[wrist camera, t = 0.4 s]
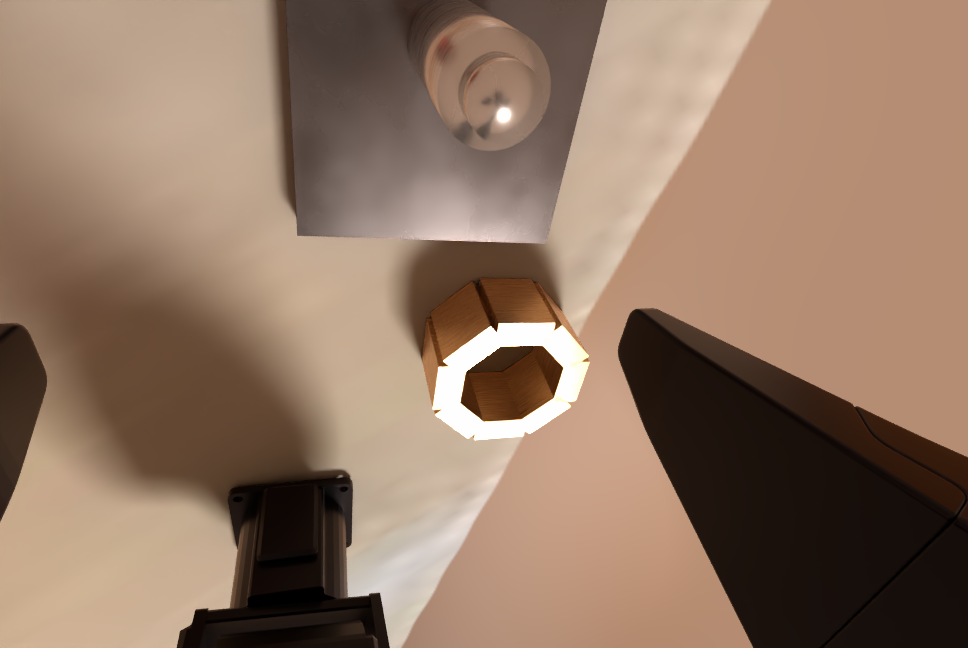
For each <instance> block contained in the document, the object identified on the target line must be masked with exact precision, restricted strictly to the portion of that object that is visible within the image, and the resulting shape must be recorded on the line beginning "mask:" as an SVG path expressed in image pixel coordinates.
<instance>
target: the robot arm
mask: <svg viewBox="0 0 968 648" xmlns="http://www.w3.org/2000/svg"><path fill="white" fill-rule="evenodd" d="M618 357H619V361H620V363H621V366H622V369H623V372H624V374H625V377H626V380H627V382H628V385H629V388H630V391H631V393H632V396H633V399H634V401H635V404H636V407H637V410H638V412H639V415H640V418H641V420H642V422H643V425H644V428H645V430H646V432H647V434H648V436H649V439H650V441H651V443H652V445H653V447H654V449H655V451H656V453H657V455H658V457H659V459H660V461H661V463H662V465H663V467H664V469H665V471H666V473H667V475H668V477H669V479H670V481H671V483H672V485H673V487H674V489H675V491H676V493H677V495H678V497H679V499H680V501H681V503H682V505H683V507H684V509H685V511H686V513H687V515H688V517H689V519H690V521H691V523H692V525H693V527H694V529H695V531H696V533H697V535H698V538H699V539H700V542H701V544H702V546H703V548H704V550H705V552H706V554H707V556H708V558H709V560H710V562H711V564H712V566H713V568H714V570H715V572H716V574H717V576H718V578H719V580H720V582H721V584H722V586H723V588H724V590H725V592H726V594H727V596H728V598H729V600H730V602H731V604H732V606H733V608H734V610H735V612H736V614H737V616H738V618H739V620H740V622H741V624H742V626H743V628H744V630H745V632H746V634H747V636H748V638H749V640H750V642H751V644H752V646H753V648H968V457H966V456H964V455H962V454H959V453H957V452H955V451H953V450H950V449H948V448H946V447H944V446H941V445H939V444H937V443H935V442H932V441H930V440H928V439H926V438H923V437H921V436H919V435H917V434H915V433H913V432H911V431H908V430H906V429H904V428H902V427H900V426H898V425H895V424H894V423H891V422H889V421H887V420H885V419H883V418H881V417H879V416H877V415H875V414H873V413H871V412H868V411H866V410H864V409H862V408H860V407H858V406H856V407H854V406H853V404H851V403H850V402H848V401H846V400H844V399H841V398H839V397H837V396H835V395H833V394H831V393H829V392H827V391H825V390H823V389H821V388H819V387H817V386H815V385H813V384H810V383H808V382H806V381H804V380H802V379H800V378H798V377H796V376H794V375H792V374H790V373H788V372H786V371H784V370H782V369H780V368H778V367H776V366H773V365H771V364H769V363H767V362H765V361H763V360H761V359H759V358H757V357H755V356H752V355H751V354H749V353H747V352H745V351H743V350H740V349H738V348H736V347H734V346H732V345H730V344H728V343H726V342H724V341H722V340H720V339H718V338H716V337H714V336H711V335H710V334H707V333H705V332H703V331H701V330H699V329H697V328H695V327H693V326H691V325H689V324H687V323H685V322H683V321H680V320H678V319H676V318H675V317H672V316H670V315H668V314H666V313H664V312H662V311H660V310H658V309H654V308H645V309H635V310H633V311H632V312H631V313H630V315H629V317H628V320H627V323H626V326H625V328H624V332H623V335H622V337H621V340H620V343H619V346H618ZM46 387H47V375H46V371H45V368H44V366H43V364H42V361H41V359H40V357H39V354H38V352H37V350H36V347H35V345H34V343H33V340H32V338H31V336H30V334H29V332H28V330H27V329H26V328H25V327H24V326H22V325H20V324H17V323H6V324H0V521H1V519H2V517H3V515H4V513H5V510H6V508H7V506H8V504H9V501H10V499H11V497H12V494H13V492H14V489H15V487H16V484H17V481H18V478H19V475H20V473H21V469H22V466H23V463H24V460H25V456H26V453H27V450H28V447H29V443H30V440H31V437H32V434H33V430H34V427H35V424H36V421H37V417H38V414H39V411H40V408H41V404H42V401H43V398H44V395H45V391H46ZM352 499H353V484H352V480H350V479H348V478H337V479H326V480H315V481H304V482H293V483H281V484H270V485H259V486H248V487H237V488H234V489H232V490H230V492H229V496H228V504H229V509H230V514H231V519H232V524H233V529H234V534H235V539H236V544H237V549H238V552H237V559H236V566H235V574H234V581H233V588H232V595H231V603H230V608H229V609H218V610H208V608H206V609H196V610H195V614H194V618H193V622H192V624H191V625H190V626H188V627H187V628H185V629H183V630H181V631H180V634H179V639H178V644H177V648H390V647H389V642H388V636H387V630H386V624H385V619H384V613H383V607H382V602H381V596H380V593H371V594H369V596H359V597H348V589H347V558H346V548H347V547H349V546H350V545H351V543H352Z"/></svg>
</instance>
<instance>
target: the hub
mask: <svg viewBox="0 0 968 648" xmlns="http://www.w3.org/2000/svg"><path fill="white" fill-rule="evenodd" d="M430 313H431V317H432V318H427V320H426V328H425V337H424V346H423V354H422V362H423V366H424V371H425V375H426V380H427V385H428V389H429V394H430V399H431V403H432V408H433V409H434V412H435V415H436V416H438V417H439V418H440V419H442V420H443V421H444V422H446V423H447V424H449V425H450V426H451V427H453V428H454V429H455V430H457V431H458V432H459V433H461V434H462V435H464V436H465V437H466V438H469V437H471V436H472V435H473V438H474V440H480V439H494V438H507V437H520V436H523V434H524V430H526V431H527V432H528V433H529V434H530V433H532V432H533V431H535V430H536V429H538V428H539V427H541V426H542V425H544V424H546V423H547V422H548V421H550V420H552V419H553V418H555V417H556V416H558V415H559V414H561V413H562V412H564V411H565V410H567V409H568V408H570V407H571V405H570V403H569V402H571V401H576V399H577V396H578V393H579V390H580V387H581V385H582V382H583V379H584V376H585V374H586V371H587V368H588V365H589V360H588V358H587V357H588V354H587V352H586V351H585V349H584V347H583V346H582V344H581V342H580V341H579V339H578V337H577V336H576V334H575V332H574V331H573V329H572V327H571V326H570V324H569V322H568V320H567V319H566V317H565V315H564V314H563V312H562V311H561V310H560V308H559V307H558V306H557V305H556V304H555V302H554V301H553V300H552V299H551V298H550V296H549V295H548V294H547V293H546V292H545V290H544V289H543V288H542V287H541V286H540V284H539V283H538V282H536V283H533V282H532V280H531V279H502V278H480V280H479V286H477V285H476V284H475V283H474V282H473V281H471V282H470V283H469V284H467V285H466V286H465V287H463V288H462V289H461V290H459V291H458V292H457V293H455V294H454V295H453V296H451V297H450V298H449V299H447V300H446V301H445V302H443V303H442V304H441V305H440V306H438V307H437V308H436V309H434V310H433V311H432V312H430ZM501 346H533V350H532V352H530V353H529V354H528V355H526V356H525V357H523V358H522V359H520V360H519V361H518V362H516V363H515V364H513V365H512V366H510V367H509V368H508V369H506V370H505V371H503V372H479V373H468V372H467V370H468V369H470V368H471V367H473V366H474V365H475V364H477V363H478V362H480V361H481V360H482V359H484V358H485V357H487V356H488V355H489V354H491V353H492V352H494V351H495V350H496V349H498V348H499V347H501Z"/></svg>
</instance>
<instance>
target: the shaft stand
mask: <svg viewBox="0 0 968 648" xmlns="http://www.w3.org/2000/svg"><path fill="white" fill-rule="evenodd" d="M606 2H607V0H286V20H287V40H288V59H289V79H290V99H291V118H292V138H293V158H294V177H295V197H296V217H297V236H326V237H357V238H387V239H418V240H448V241H479V242H510V243H540V244H546V242H547V238H548V234H549V230H550V226H551V222H552V218H553V214H554V210H555V206H556V202H557V198H558V194H559V190H560V186H561V182H562V178H563V174H564V170H565V166H566V162H567V158H568V154H569V150H570V146H571V142H572V138H573V134H574V130H575V126H576V122H577V118H578V114H579V110H580V106H581V102H582V98H583V94H584V90H585V86H586V82H587V78H588V74H589V70H590V66H591V62H592V58H593V54H594V50H595V46H596V42H597V38H598V34H599V30H600V26H601V22H602V18H603V14H604V10H605V6H606Z"/></svg>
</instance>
